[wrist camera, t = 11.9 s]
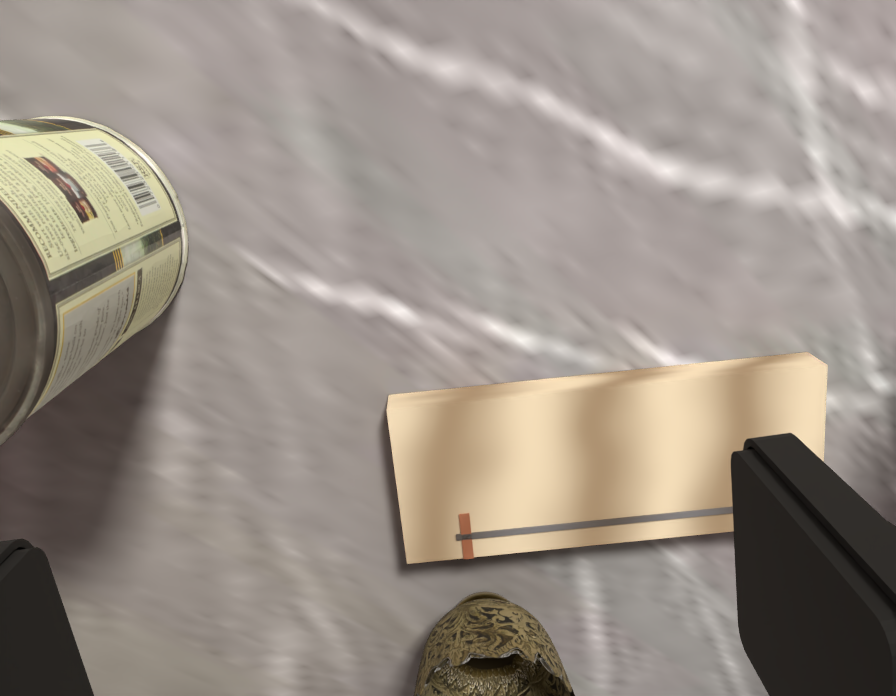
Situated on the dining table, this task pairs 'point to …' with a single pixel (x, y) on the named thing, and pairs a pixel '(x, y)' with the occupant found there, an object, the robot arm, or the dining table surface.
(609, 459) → the maple board
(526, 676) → the cup
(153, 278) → the coffee can
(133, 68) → the dining table surface
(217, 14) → the dining table surface
